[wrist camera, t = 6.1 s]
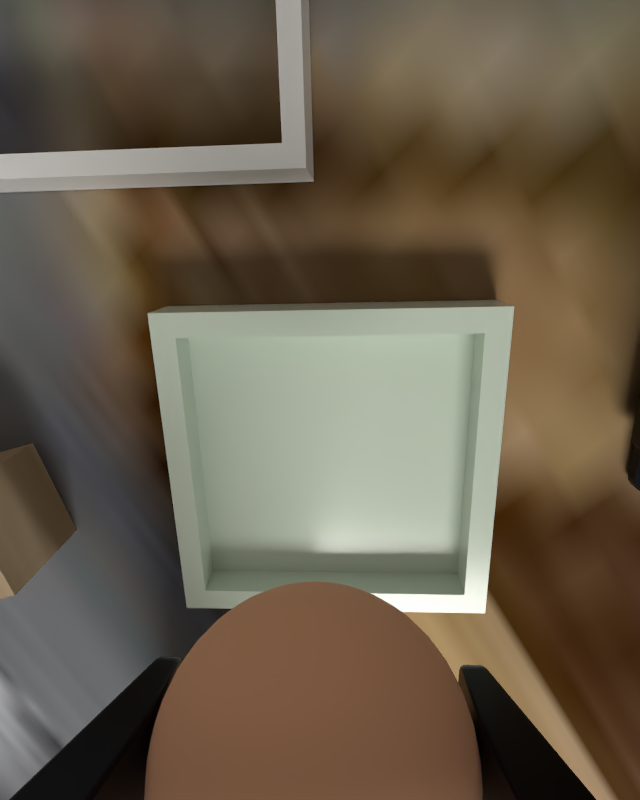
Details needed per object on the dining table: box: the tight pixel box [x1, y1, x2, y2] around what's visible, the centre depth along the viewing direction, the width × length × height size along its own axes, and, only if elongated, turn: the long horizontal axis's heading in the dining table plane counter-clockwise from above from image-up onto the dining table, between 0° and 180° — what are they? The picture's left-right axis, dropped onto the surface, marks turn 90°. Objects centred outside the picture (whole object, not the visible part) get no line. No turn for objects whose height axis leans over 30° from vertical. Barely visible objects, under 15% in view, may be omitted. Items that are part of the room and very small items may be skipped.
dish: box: [147, 300, 514, 613], centre depth 17 cm, size 11×11×2 cm
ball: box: [144, 581, 483, 800], centre depth 8 cm, size 5×5×5 cm
